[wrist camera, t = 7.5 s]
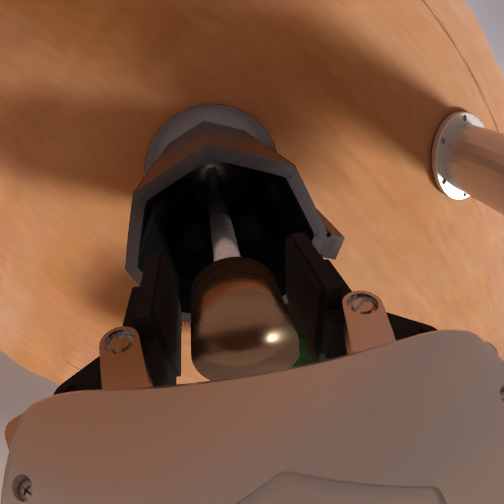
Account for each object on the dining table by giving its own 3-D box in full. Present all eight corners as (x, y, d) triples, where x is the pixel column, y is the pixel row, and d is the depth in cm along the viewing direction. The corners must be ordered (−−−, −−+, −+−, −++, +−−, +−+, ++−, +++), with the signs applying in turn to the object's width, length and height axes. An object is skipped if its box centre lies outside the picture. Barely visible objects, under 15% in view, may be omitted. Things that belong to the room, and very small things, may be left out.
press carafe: (302, 127, 28) (406, 165, 13) (265, 240, 33) (317, 354, 19) (162, 92, 24) (110, 82, 9) (137, 217, 30) (92, 330, 15)
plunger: (258, 144, 27) (399, 268, 8) (238, 213, 30) (306, 414, 11) (183, 127, 25) (128, 217, 6) (167, 199, 28) (124, 405, 9)
